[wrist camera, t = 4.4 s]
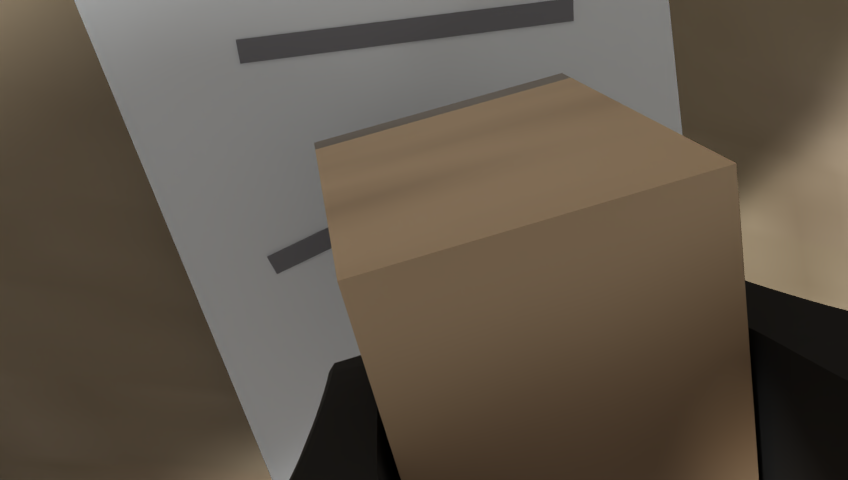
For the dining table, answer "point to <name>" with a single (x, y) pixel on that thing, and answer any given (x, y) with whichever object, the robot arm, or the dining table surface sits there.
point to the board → (318, 120)
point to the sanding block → (545, 290)
